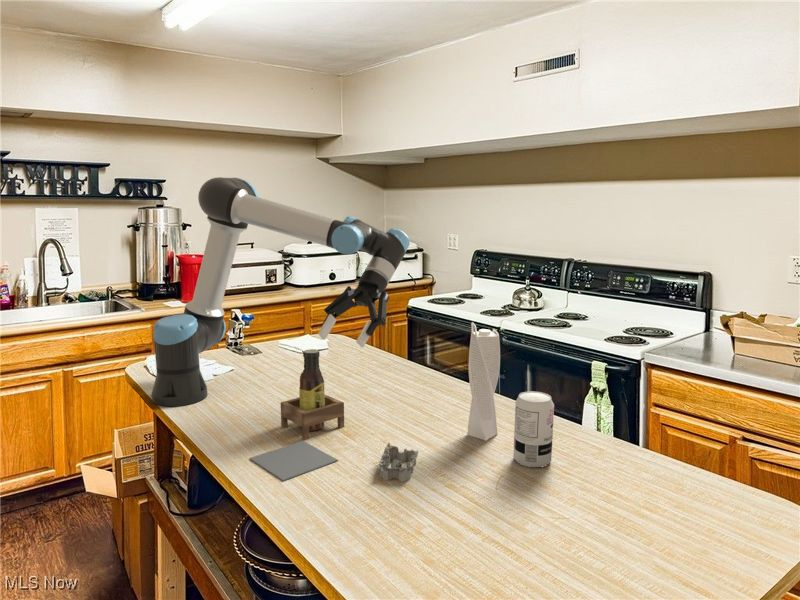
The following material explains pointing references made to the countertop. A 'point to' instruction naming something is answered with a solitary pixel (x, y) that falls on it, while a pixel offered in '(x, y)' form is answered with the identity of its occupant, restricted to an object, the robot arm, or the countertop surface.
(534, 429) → the supplement can
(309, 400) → the sauce bottle
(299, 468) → the slate mat
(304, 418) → the wooden square frame
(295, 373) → the countertop surface
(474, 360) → the skyscraper
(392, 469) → the egg carton
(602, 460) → the countertop surface
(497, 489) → the countertop surface
